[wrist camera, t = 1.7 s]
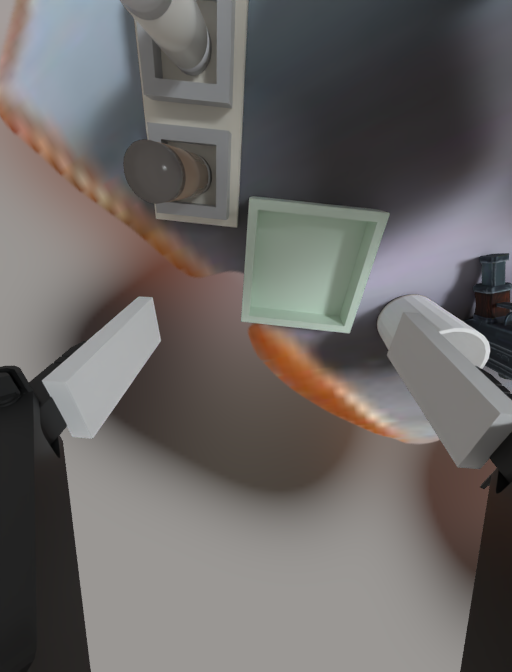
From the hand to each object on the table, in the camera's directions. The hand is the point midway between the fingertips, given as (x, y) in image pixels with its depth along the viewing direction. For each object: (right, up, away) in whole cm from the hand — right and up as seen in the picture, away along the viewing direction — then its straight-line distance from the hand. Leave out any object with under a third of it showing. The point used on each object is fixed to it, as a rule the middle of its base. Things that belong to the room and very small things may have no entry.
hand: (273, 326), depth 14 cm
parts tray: (+5, +9, +20) cm, 23 cm away
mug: (+22, +1, +24) cm, 32 cm away
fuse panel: (-7, +22, +13) cm, 27 cm away
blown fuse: (-8, +18, +15) cm, 24 cm away
